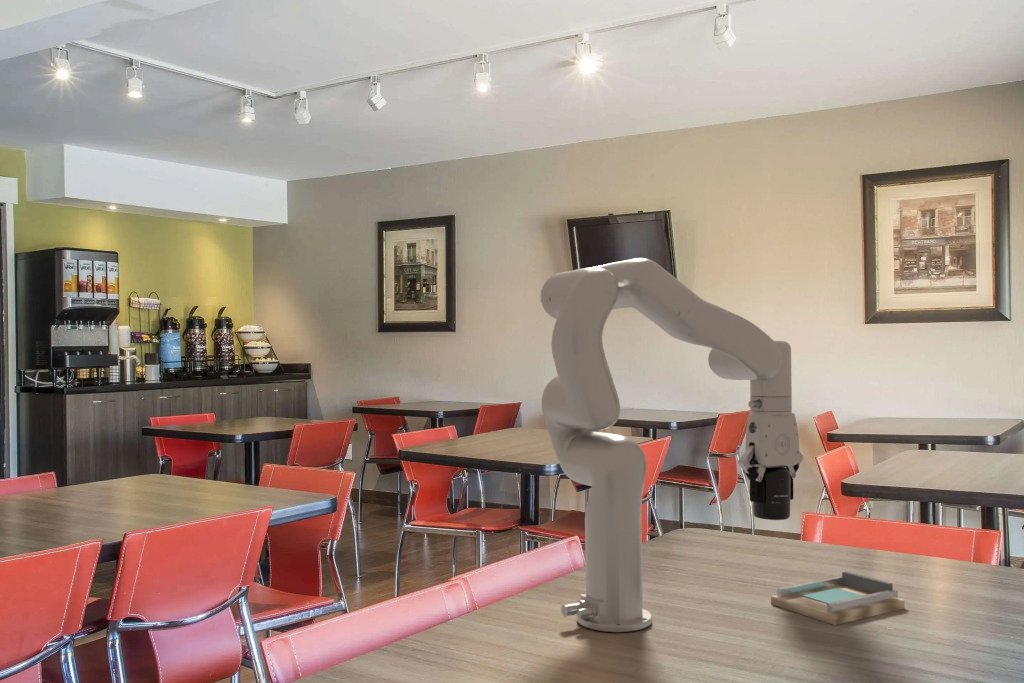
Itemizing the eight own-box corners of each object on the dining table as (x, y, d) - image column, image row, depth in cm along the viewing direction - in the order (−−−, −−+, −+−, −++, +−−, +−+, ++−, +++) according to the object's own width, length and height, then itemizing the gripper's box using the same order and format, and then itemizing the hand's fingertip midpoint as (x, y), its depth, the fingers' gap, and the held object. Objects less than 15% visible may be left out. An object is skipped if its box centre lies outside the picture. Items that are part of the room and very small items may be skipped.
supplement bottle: (783, 522, 158) (782, 456, 158) (747, 518, 162) (746, 454, 162) (795, 516, 164) (795, 453, 164) (760, 512, 168) (760, 450, 168)
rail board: (834, 625, 143) (834, 600, 143) (771, 604, 155) (770, 581, 155) (904, 608, 152) (904, 585, 152) (839, 589, 164) (838, 568, 164)
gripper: (752, 408, 156) (753, 507, 155) (818, 405, 164) (819, 499, 164) (722, 406, 162) (723, 501, 162) (787, 403, 171) (788, 494, 171)
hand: (771, 499), depth 163 cm, fingers closed on supplement bottle, 6 cm apart
